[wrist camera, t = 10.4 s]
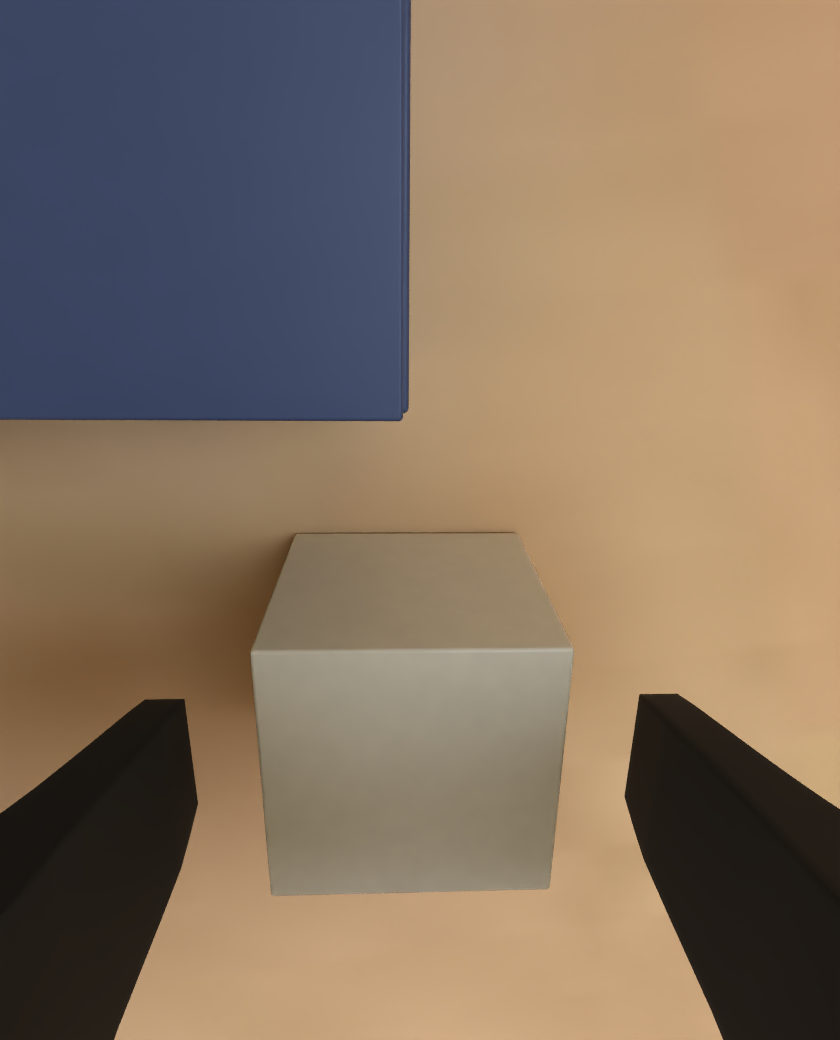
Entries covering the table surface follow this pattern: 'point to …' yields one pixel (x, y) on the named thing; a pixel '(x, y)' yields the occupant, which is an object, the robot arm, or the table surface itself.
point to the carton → (204, 209)
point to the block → (410, 715)
